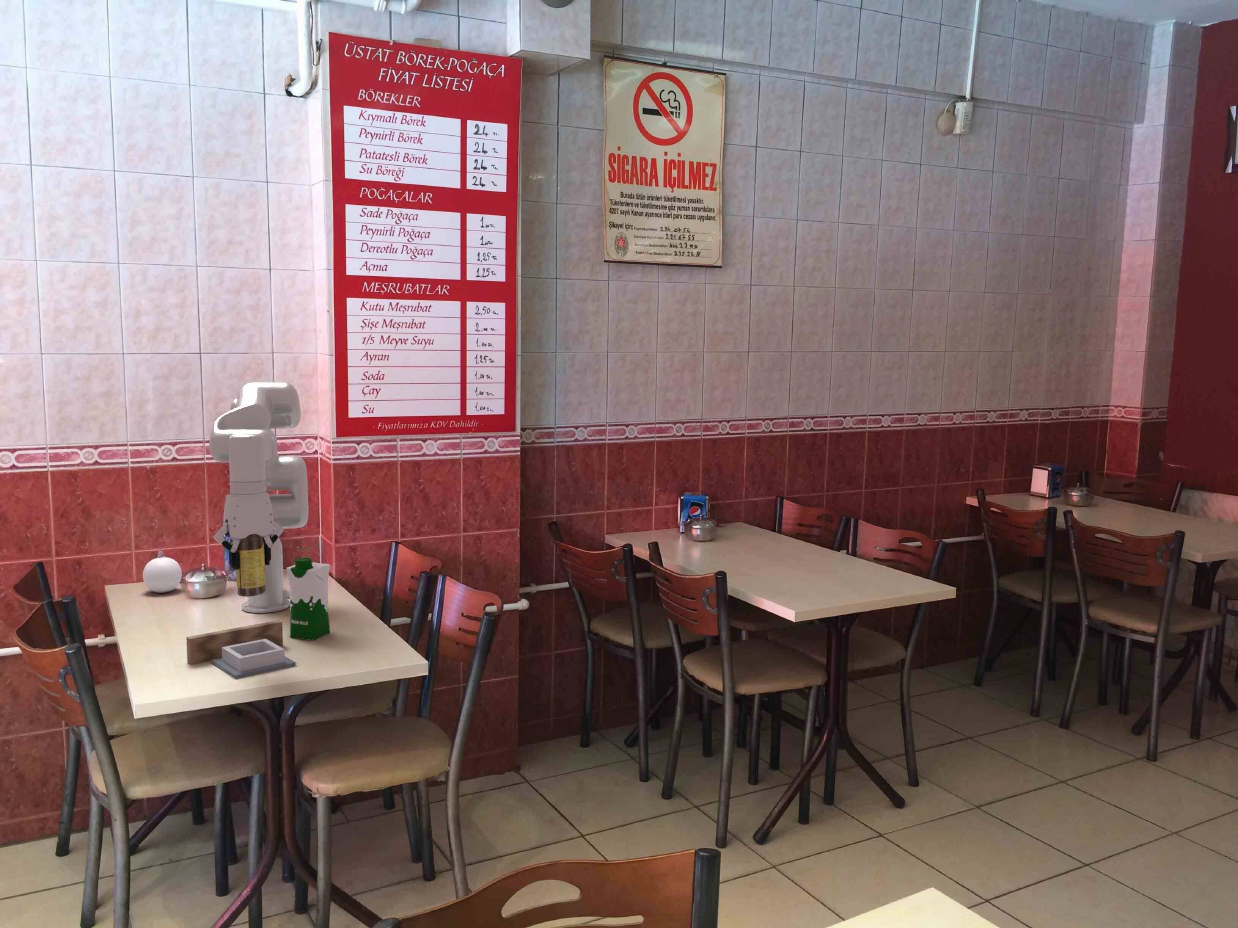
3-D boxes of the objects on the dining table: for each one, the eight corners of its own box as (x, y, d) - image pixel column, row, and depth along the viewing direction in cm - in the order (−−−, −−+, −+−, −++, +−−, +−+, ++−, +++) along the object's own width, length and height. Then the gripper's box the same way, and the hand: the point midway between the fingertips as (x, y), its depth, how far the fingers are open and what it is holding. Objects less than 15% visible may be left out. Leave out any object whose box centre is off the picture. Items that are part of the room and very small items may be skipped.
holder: (270, 650, 239) (270, 635, 239) (295, 665, 229) (295, 649, 229) (211, 662, 230) (210, 646, 229) (235, 678, 220) (234, 662, 219)
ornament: (151, 587, 297) (149, 548, 295) (186, 587, 298) (185, 547, 296) (138, 596, 286) (136, 555, 285) (175, 596, 288) (173, 555, 286)
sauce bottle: (272, 592, 229) (269, 507, 226) (250, 598, 223) (247, 511, 221) (252, 589, 232) (249, 504, 229) (230, 595, 226) (227, 508, 224)
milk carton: (284, 638, 250) (282, 559, 247) (307, 628, 258) (305, 552, 256) (314, 642, 247) (312, 562, 244) (335, 632, 255) (334, 555, 253)
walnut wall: (279, 643, 245) (278, 619, 244) (283, 645, 243) (282, 621, 243) (187, 662, 230) (186, 636, 229) (190, 664, 229) (189, 638, 228)
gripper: (278, 483, 233) (280, 558, 235) (202, 489, 221) (205, 568, 223) (292, 486, 227) (294, 563, 230) (215, 493, 216) (218, 574, 218)
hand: (250, 565), depth 227 cm, fingers closed on sauce bottle, 6 cm apart
